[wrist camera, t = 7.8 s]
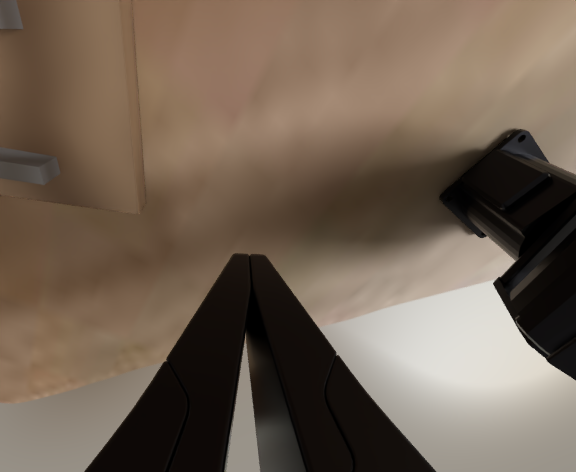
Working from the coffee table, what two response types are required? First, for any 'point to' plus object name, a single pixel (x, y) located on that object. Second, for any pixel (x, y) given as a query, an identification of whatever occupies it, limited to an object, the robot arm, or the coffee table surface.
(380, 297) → the coffee table surface
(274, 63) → the coffee table surface
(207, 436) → the robot arm
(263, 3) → the coffee table surface
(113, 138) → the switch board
